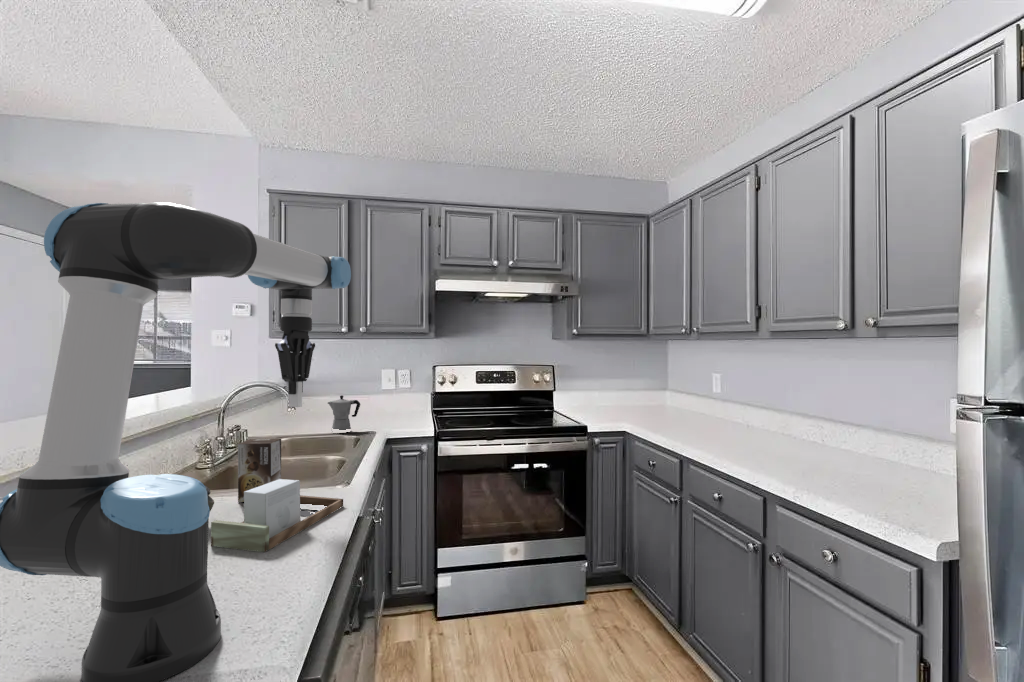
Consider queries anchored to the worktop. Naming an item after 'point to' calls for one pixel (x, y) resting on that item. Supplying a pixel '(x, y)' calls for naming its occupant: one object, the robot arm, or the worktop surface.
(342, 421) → the coffeepot
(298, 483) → the skincare box
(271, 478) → the coffee box
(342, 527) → the worktop surface
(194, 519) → the robot arm
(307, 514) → the trap pits
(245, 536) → the track
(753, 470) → the worktop surface
